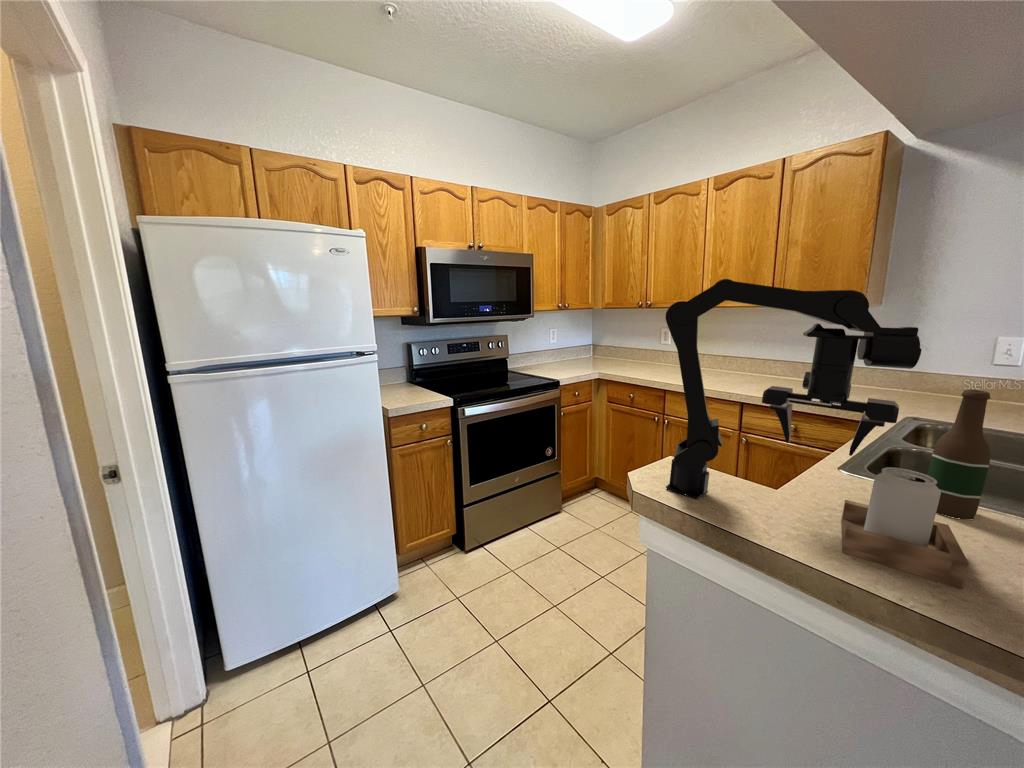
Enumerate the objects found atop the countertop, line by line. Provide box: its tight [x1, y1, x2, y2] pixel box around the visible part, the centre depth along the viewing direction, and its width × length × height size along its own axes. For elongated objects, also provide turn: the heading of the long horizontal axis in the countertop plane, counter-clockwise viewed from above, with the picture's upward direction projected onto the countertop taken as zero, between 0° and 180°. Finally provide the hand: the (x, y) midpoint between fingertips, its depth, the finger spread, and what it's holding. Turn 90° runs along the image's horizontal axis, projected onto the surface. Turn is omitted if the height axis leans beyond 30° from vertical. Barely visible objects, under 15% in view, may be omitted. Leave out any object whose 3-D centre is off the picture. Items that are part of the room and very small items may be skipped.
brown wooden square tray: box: [840, 499, 970, 589], centre depth 64 cm, size 13×13×4 cm
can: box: [864, 466, 941, 547], centre depth 63 cm, size 8×8×12 cm
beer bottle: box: [927, 389, 992, 520], centre depth 76 cm, size 8×8×24 cm
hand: (817, 448), depth 73 cm, fingers open, 9 cm apart
